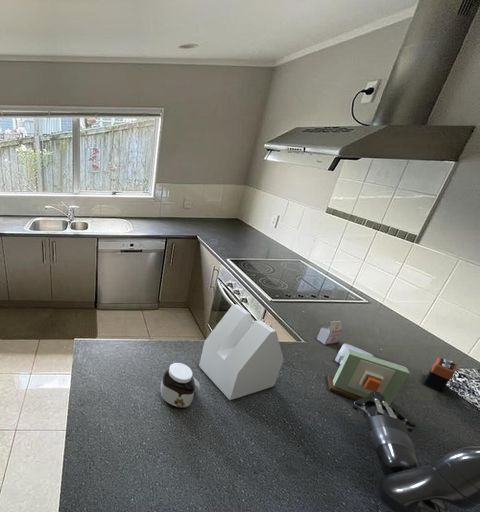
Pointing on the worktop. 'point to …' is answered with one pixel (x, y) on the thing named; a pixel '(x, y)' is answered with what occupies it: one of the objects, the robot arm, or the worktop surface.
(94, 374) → the worktop surface
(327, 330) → the small printed carton
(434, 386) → the battery
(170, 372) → the spread jar
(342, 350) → the charger
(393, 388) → the wall panel
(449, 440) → the worktop surface
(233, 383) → the white grooved wedge block
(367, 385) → the switch
